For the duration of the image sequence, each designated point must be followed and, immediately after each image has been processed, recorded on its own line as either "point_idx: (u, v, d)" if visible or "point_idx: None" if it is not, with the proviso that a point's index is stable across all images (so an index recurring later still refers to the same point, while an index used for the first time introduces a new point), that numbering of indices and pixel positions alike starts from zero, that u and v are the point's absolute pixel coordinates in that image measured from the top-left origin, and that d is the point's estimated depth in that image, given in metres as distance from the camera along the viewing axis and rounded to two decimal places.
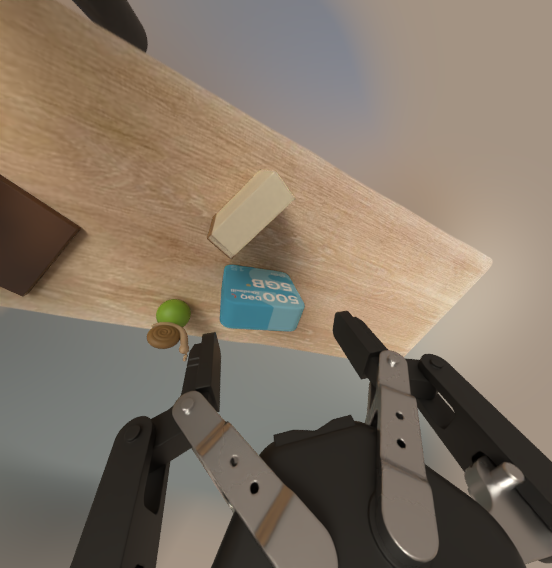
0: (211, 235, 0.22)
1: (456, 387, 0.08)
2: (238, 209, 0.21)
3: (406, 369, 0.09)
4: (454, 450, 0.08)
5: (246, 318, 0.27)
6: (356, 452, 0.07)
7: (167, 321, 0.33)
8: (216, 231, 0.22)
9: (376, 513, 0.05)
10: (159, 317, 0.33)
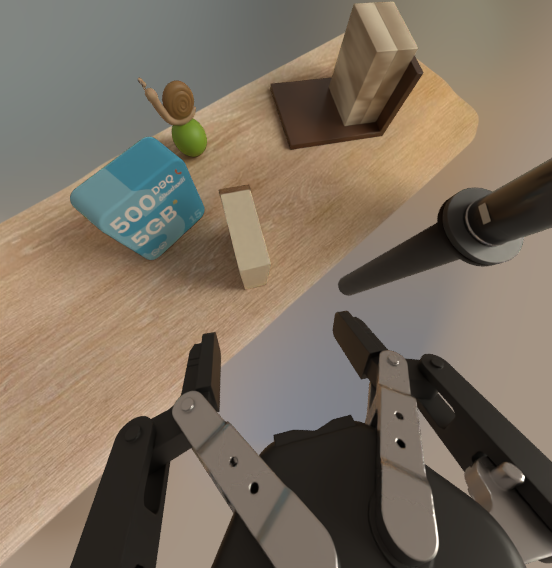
0: (249, 188, 0.23)
1: (456, 387, 0.08)
2: (257, 220, 0.23)
3: (406, 369, 0.09)
4: (454, 450, 0.08)
5: (141, 158, 0.22)
6: (356, 452, 0.07)
7: (189, 122, 0.31)
8: (250, 194, 0.23)
9: (376, 513, 0.05)
10: (197, 122, 0.32)
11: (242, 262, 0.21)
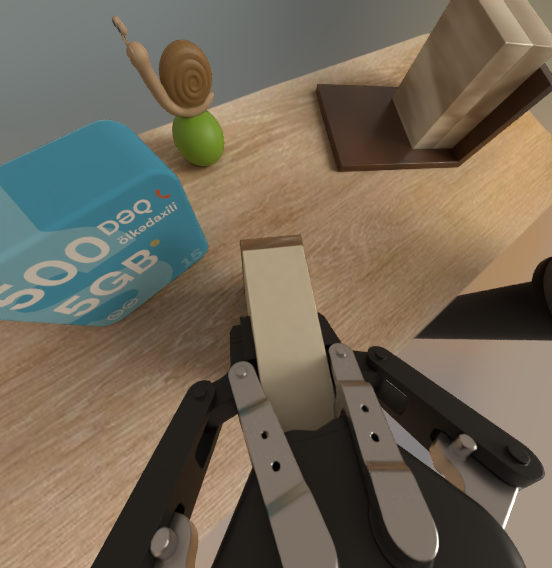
0: (301, 244, 0.12)
1: (402, 373, 0.09)
2: (315, 314, 0.11)
3: (351, 360, 0.10)
4: (413, 431, 0.09)
5: (82, 160, 0.10)
6: (356, 452, 0.07)
7: (201, 115, 0.20)
8: (302, 255, 0.11)
9: (376, 513, 0.05)
10: (214, 118, 0.21)
11: None
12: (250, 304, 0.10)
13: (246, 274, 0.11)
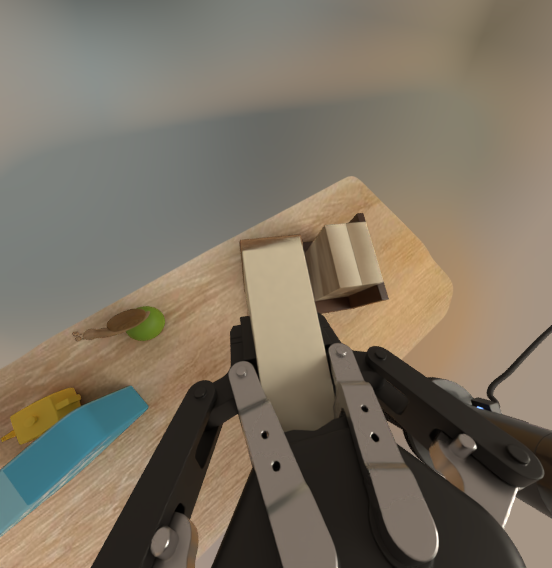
0: (300, 243, 0.12)
1: (402, 373, 0.09)
2: (314, 314, 0.11)
3: (351, 360, 0.10)
4: (413, 431, 0.09)
5: (50, 453, 0.19)
6: (356, 452, 0.07)
7: (142, 323, 0.30)
8: (302, 255, 0.11)
9: (376, 513, 0.05)
10: (153, 317, 0.31)
11: None
12: (250, 304, 0.10)
13: (246, 274, 0.11)
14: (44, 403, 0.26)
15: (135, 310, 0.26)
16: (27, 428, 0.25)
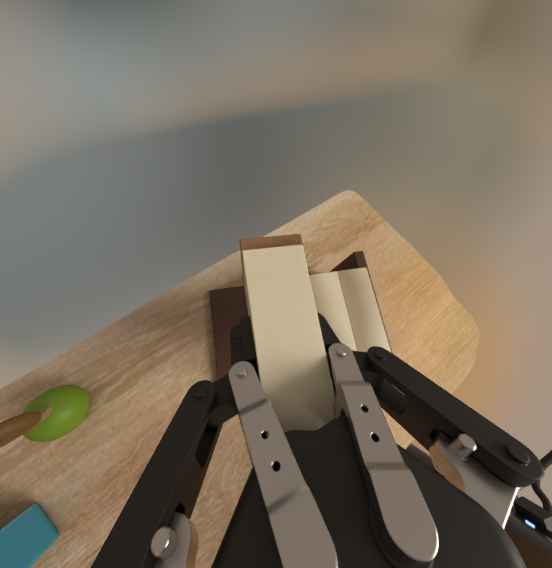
0: (300, 243, 0.12)
1: (402, 373, 0.09)
2: (314, 314, 0.11)
3: (351, 360, 0.10)
4: (413, 431, 0.09)
5: None
6: (356, 452, 0.07)
7: (43, 421, 0.20)
8: (302, 255, 0.11)
9: (376, 513, 0.05)
10: (63, 408, 0.22)
11: None
12: (250, 303, 0.10)
13: (246, 273, 0.11)
14: None
15: (11, 423, 0.17)
16: None
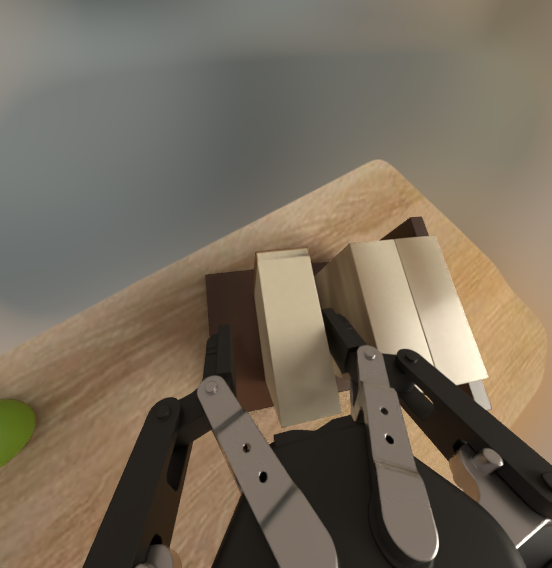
0: (308, 255, 0.13)
1: (431, 379, 0.09)
2: (320, 317, 0.12)
3: (381, 363, 0.10)
4: (436, 440, 0.09)
5: None
6: (356, 452, 0.07)
7: None
8: (309, 265, 0.13)
9: (376, 513, 0.05)
10: None
11: (288, 407, 0.11)
12: (264, 307, 0.12)
13: (261, 281, 0.12)
14: None
15: None
16: None
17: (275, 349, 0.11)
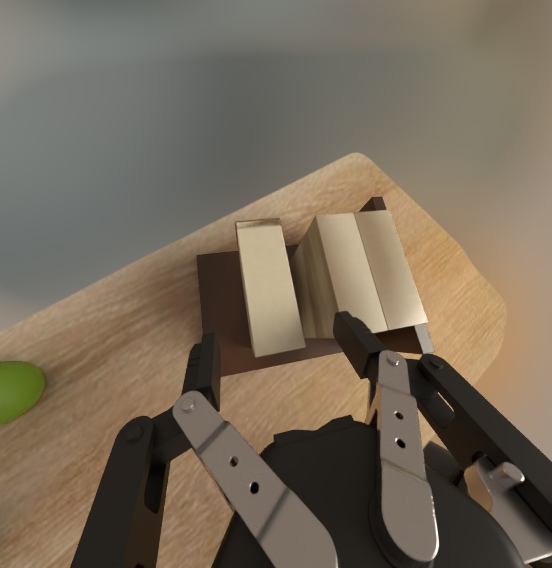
0: (279, 224, 0.16)
1: (456, 387, 0.08)
2: (288, 273, 0.15)
3: (406, 369, 0.09)
4: (454, 450, 0.08)
5: None
6: (356, 452, 0.07)
7: None
8: (280, 232, 0.16)
9: (376, 513, 0.05)
10: (2, 387, 0.17)
11: (261, 341, 0.13)
12: (242, 266, 0.15)
13: (239, 245, 0.15)
14: None
15: None
16: None
17: (251, 298, 0.14)
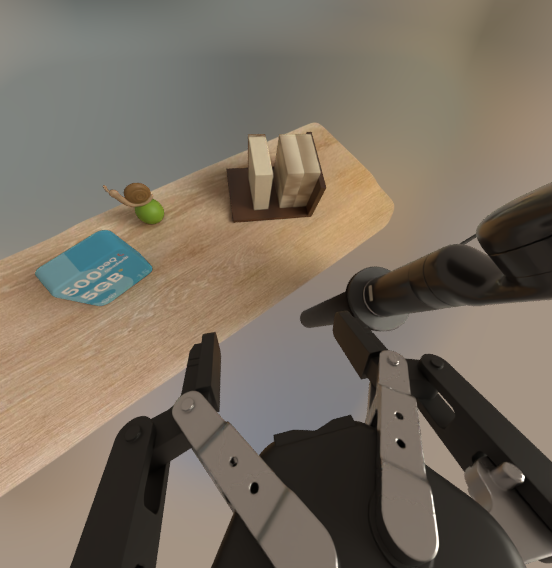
0: (265, 136, 0.41)
1: (456, 387, 0.08)
2: (268, 152, 0.40)
3: (406, 369, 0.09)
4: (454, 450, 0.08)
5: (92, 247, 0.31)
6: (356, 452, 0.07)
7: (147, 204, 0.41)
8: (265, 139, 0.41)
9: (376, 513, 0.05)
10: (155, 203, 0.42)
11: (257, 171, 0.39)
12: (251, 149, 0.40)
13: (249, 142, 0.40)
14: None
15: (143, 184, 0.38)
16: None
17: (254, 158, 0.39)
